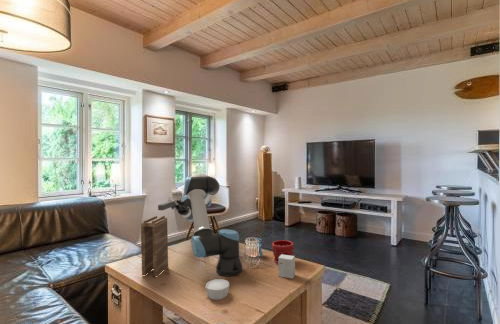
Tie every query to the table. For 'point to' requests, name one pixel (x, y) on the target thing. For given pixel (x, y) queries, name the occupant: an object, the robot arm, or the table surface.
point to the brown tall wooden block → (154, 245)
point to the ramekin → (217, 289)
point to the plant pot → (282, 248)
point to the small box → (286, 266)
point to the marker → (166, 205)
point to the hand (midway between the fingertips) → (171, 199)
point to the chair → (259, 246)
